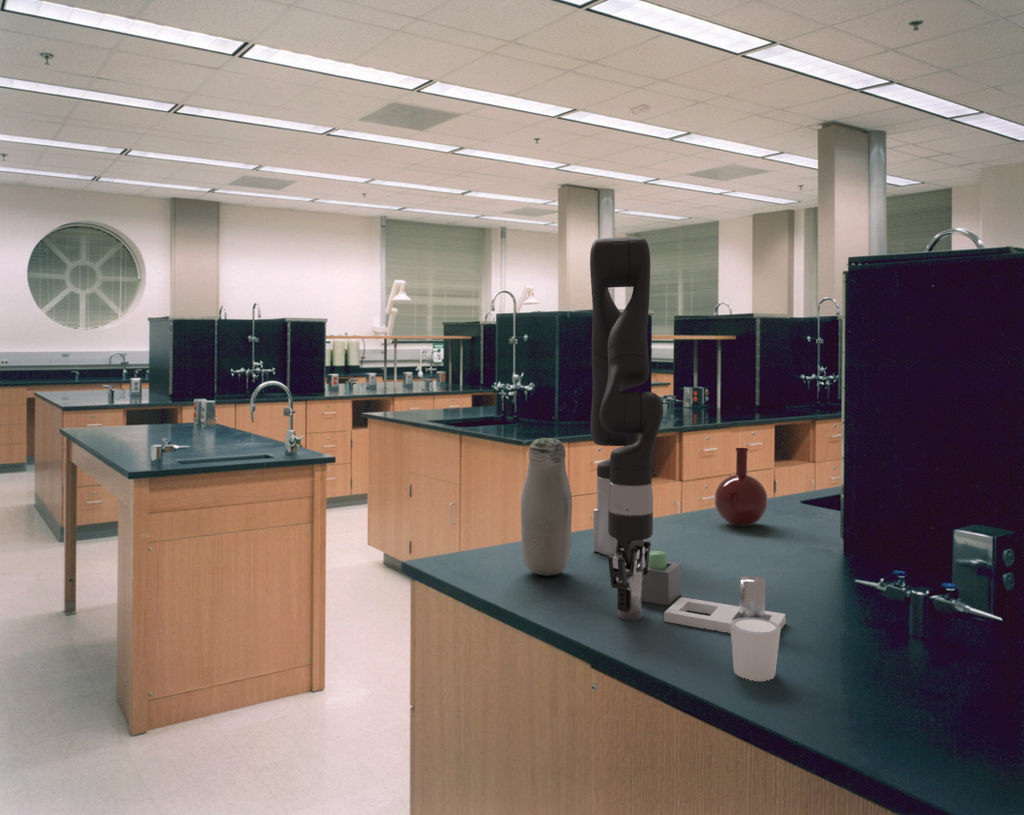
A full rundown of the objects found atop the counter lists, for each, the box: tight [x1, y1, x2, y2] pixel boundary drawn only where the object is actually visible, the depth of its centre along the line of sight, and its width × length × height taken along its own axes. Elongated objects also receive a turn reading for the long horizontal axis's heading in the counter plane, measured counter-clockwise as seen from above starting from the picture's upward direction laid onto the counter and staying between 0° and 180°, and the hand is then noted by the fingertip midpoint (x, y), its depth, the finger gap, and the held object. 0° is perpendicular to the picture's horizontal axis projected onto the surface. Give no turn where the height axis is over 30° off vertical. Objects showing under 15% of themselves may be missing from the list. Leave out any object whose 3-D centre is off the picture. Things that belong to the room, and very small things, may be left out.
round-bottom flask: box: [714, 447, 769, 527], centre depth 200 cm, size 13×13×20 cm
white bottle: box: [520, 437, 573, 577], centre depth 158 cm, size 10×10×28 cm
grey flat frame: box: [663, 596, 787, 634], centre depth 131 cm, size 18×9×2 cm, turn 60°
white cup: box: [730, 618, 782, 682], centre depth 111 cm, size 7×7×7 cm
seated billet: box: [739, 575, 766, 619], centre depth 128 cm, size 4×4×8 cm
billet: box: [617, 569, 643, 621], centre depth 134 cm, size 4×4×8 cm
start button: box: [648, 550, 668, 570], centre depth 144 cm, size 4×4×6 cm
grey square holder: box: [639, 560, 682, 606], centre depth 144 cm, size 7×7×6 cm
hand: (629, 605), depth 134 cm, fingers open, 4 cm apart
